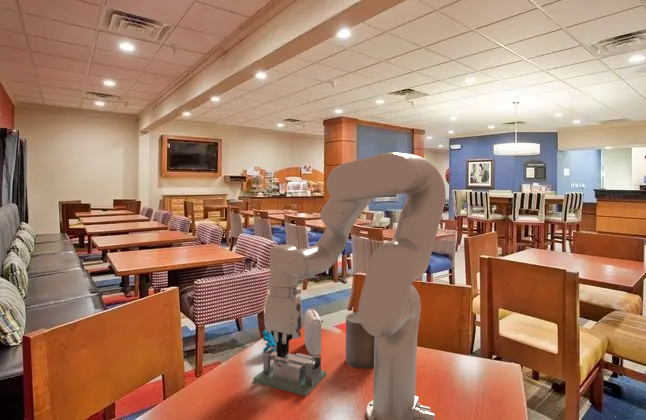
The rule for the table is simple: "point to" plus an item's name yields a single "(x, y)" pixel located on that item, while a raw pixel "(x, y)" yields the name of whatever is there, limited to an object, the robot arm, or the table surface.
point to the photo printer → (313, 332)
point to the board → (300, 390)
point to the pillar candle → (358, 344)
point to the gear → (269, 340)
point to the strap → (293, 359)
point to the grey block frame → (293, 370)
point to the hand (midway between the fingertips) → (282, 355)
